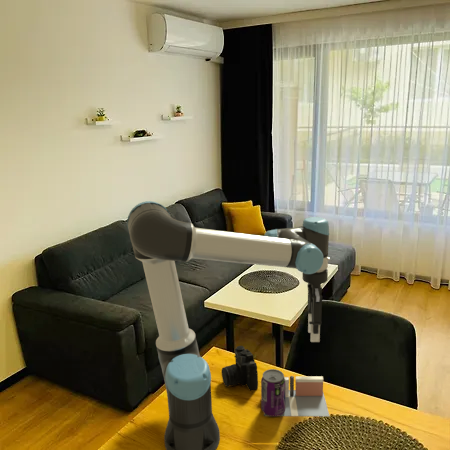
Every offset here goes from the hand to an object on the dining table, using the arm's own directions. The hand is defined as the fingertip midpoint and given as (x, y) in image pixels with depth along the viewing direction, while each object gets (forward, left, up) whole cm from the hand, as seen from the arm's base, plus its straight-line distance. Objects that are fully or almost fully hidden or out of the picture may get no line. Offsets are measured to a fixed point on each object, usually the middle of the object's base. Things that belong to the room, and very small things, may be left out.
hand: (313, 336), depth 138 cm
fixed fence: (-11, -7, -16) cm, 21 cm away
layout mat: (-7, -10, -17) cm, 21 cm away
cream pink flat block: (-2, -7, -16) cm, 18 cm away
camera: (-24, +1, -17) cm, 30 cm away
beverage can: (-14, -14, -17) cm, 26 cm away
